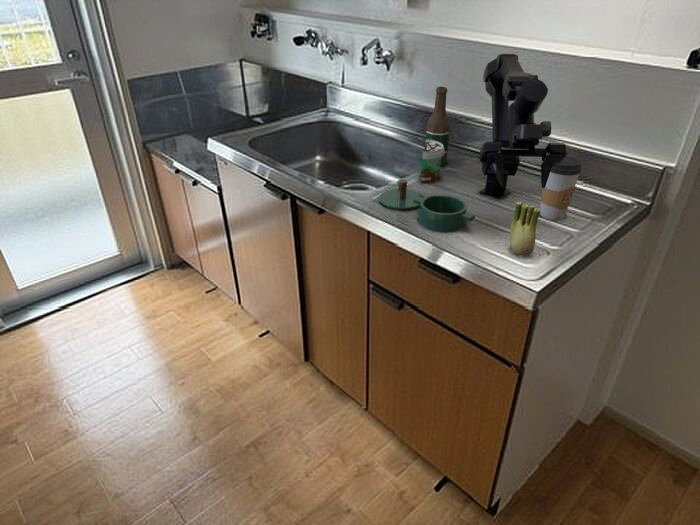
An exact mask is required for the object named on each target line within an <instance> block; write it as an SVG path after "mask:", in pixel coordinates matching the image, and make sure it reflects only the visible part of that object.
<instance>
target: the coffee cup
mask: <svg viewBox="0 0 700 525" xmlns="http://www.w3.org/2000/svg"><path fill="white" fill-rule="evenodd" d="M581 164H582V162H581V160H580V159H578V158H577V157H574V156H570V155H566V156H565V157H564V158H563V160H562V161H561V162H560V163H558V164H556V165H555V166H554V167H552V169H551V171H550V174H549V177H548V180H547V183H546V186H545V188H542V189H541V196H540V205H539V210H540V214H539V215H540V216H541V217H543V218H545V219H547V220H552V221H559V220H562V219H564V217H566V214H567V212H568V209H569V207H570V204H571V201H572V197H573V194H574V192H575V189H576V185H577V181H578V179H579V176H580V174H581V172H582V165H581Z"/></svg>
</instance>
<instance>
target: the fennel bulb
mask: <svg viewBox="0 0 700 525" xmlns="http://www.w3.org/2000/svg"><path fill="white" fill-rule="evenodd" d="M514 207H515V208H514V214H513V218H512V222H511V225H510V232H509V247H510V250H511V252H512V253H513V254H514V255H516V256H520V257H524V256H528V255H530V254H532V253H533V252H534V250H535V246H536V238H537V237H536V236H537V233H536V231H537V225H538V220H539V217H540V215H541V214H540V208H537V207H536V206H535V205H533V204H531V205H530V206H529V204H523V202H521V201H517V202H515V206H514Z"/></svg>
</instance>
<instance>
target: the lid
mask: <svg viewBox="0 0 700 525" xmlns="http://www.w3.org/2000/svg"><path fill="white" fill-rule="evenodd" d="M407 188H408V180H407V179H404V178H401V179H398V182H397V188H392V189H388V190H385V191H383V192H381V193H380V194H379V197H378V198H379V199H378V200H379V202H380V203H381V204H382V205H383V206H386V207H388V208H391V209H397V210H411V209H416V208H420V205H419V204H416V203H413V199H415V198H417V197H422V198H425V196H424V195H423V194H422V193H420V192H418V191H416V190H412V189H407Z"/></svg>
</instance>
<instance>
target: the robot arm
mask: <svg viewBox="0 0 700 525" xmlns="http://www.w3.org/2000/svg"><path fill="white" fill-rule="evenodd" d="M482 79H483V83H484V86H485V91H486V93H487V94H488V95H489V96H490V98H491V126H492V127H491V128H492V141H485V142H484V143H483V144H482V146H481V148H480V151H479V156H478V158H479V162H480V163H481V171H482V173H483V176H486V180H485V186H484V188H483V189H481V190H479V194H481V195H484V196H488V197H491V198H493V199H498V200H500V199H503V198H504V197H505V196H507V195H508V194H510V192H511V190H509V189H507V185H508V179H509V176H512V177H515V176H516V174H517V171H518V168H519V166H520V163H521V159H520V157H522V158H525V157H527V158H541V161H542V163H541V164H540V183H541V188H542V189H543V188H545V186H546V183H547V180H548V177H549V174H550V171H551V169H552V167H554V166H555V165H556V164H558V163H560V162H561V161H562V160H563V158H564V157H565V156H568V153H569V152H568V145H567V144H565V143H564V142H549V143H548V144H547V145H546V146H545V148H544V147H543V148H542V147H539V148H537V147H536V146H539V144H540V140H543V138H548V137H550V136H551V135H552V121H550V120H549V121H548V120H547V121H546V120H543V121H541V122H540V123H536V122H535V114H536V112H538V110H539V109H540V108H541V105H542V104H543V102H544V101H545V99H546V98H547V95H548V92H549V88H548V87H547V85H546V83H545V82H544V81H543V80H541V79H539V74H532V73H529V72H525V70H524V69H523V67H522V66H521V63H520V62H519V54H516V53H500V54H498V55H497V56H496V58H495V59H493V60H491V61H490V62H488V63H487V64H486V66H485V68H484V70H483V76H482ZM510 102H511V104H509V103H510Z"/></svg>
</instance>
